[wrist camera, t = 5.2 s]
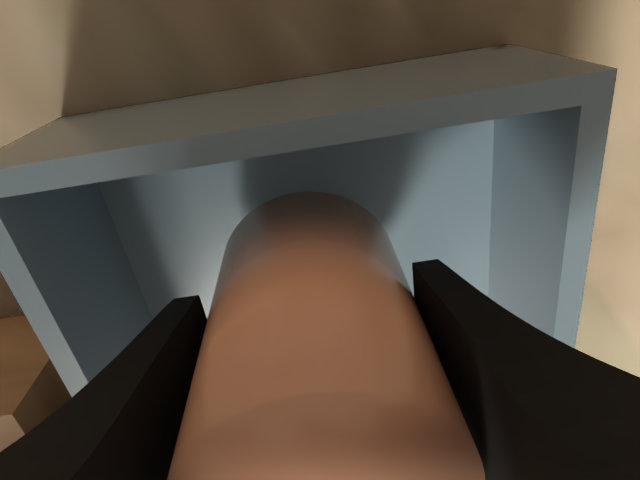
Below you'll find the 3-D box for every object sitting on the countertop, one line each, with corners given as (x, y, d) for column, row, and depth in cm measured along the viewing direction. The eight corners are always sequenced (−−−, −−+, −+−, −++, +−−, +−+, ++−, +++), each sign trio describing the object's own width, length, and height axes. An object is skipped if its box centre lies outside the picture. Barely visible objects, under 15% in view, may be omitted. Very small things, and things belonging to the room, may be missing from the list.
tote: (491, 441, 21) (542, 558, 17) (211, 480, 22) (190, 604, 17) (509, 44, 13) (617, 68, 9) (60, 117, 13) (-54, 176, 9)
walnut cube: (132, 400, 19) (83, 521, 15) (16, 417, 19) (-67, 542, 15) (86, 304, 17) (11, 414, 12) (-46, 324, 17) (-167, 440, 13)
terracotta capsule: (402, 190, 12) (516, 385, 6) (387, 335, 15) (458, 582, 9) (214, 192, 12) (136, 398, 6) (229, 341, 14) (185, 600, 8)
